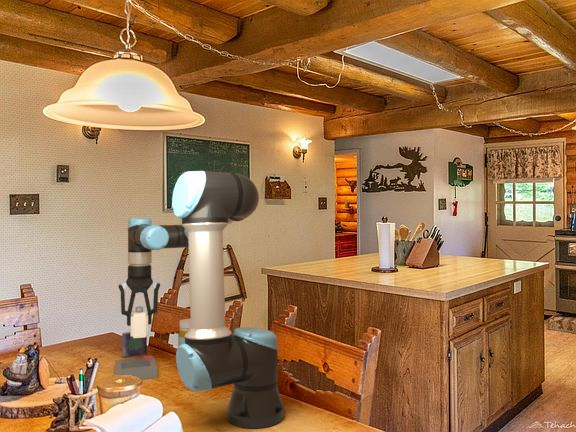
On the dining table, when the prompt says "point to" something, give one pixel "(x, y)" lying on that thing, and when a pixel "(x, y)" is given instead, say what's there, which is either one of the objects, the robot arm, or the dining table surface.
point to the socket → (137, 367)
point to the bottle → (183, 330)
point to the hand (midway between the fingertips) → (139, 334)
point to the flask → (133, 345)
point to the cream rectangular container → (139, 323)
